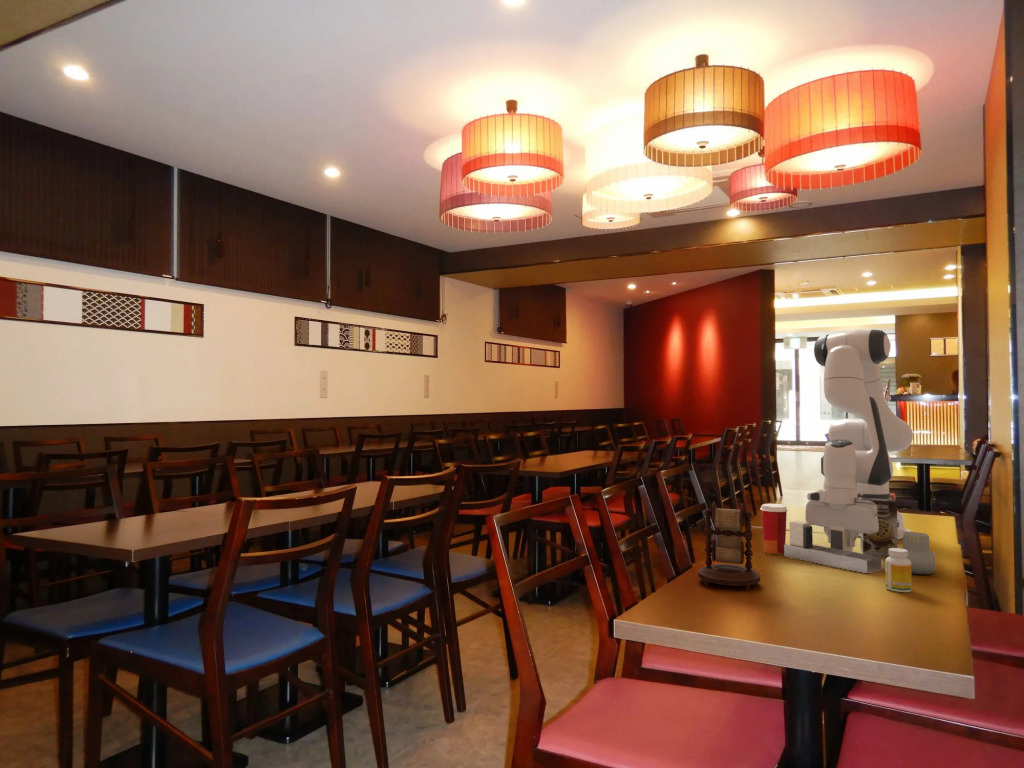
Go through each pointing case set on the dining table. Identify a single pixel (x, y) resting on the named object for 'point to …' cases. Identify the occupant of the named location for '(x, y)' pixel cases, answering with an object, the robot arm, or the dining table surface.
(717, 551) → the scroll
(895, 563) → the supplement bottle
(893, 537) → the coffee box
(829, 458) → the robot arm
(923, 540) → the air freshener
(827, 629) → the dining table surface
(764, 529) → the paper cup
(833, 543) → the cream upright block
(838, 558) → the rail
